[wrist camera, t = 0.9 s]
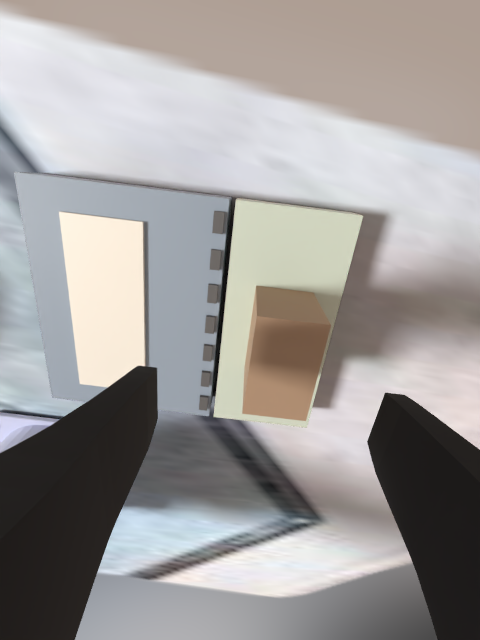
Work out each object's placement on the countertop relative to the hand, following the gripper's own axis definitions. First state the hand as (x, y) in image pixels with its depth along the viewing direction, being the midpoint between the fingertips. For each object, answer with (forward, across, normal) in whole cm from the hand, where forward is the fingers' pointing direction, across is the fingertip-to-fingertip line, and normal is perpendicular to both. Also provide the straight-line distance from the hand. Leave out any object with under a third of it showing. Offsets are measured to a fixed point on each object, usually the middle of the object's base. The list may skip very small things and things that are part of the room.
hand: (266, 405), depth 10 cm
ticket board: (+9, +7, +1) cm, 12 cm away
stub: (+9, -1, +1) cm, 9 cm away
